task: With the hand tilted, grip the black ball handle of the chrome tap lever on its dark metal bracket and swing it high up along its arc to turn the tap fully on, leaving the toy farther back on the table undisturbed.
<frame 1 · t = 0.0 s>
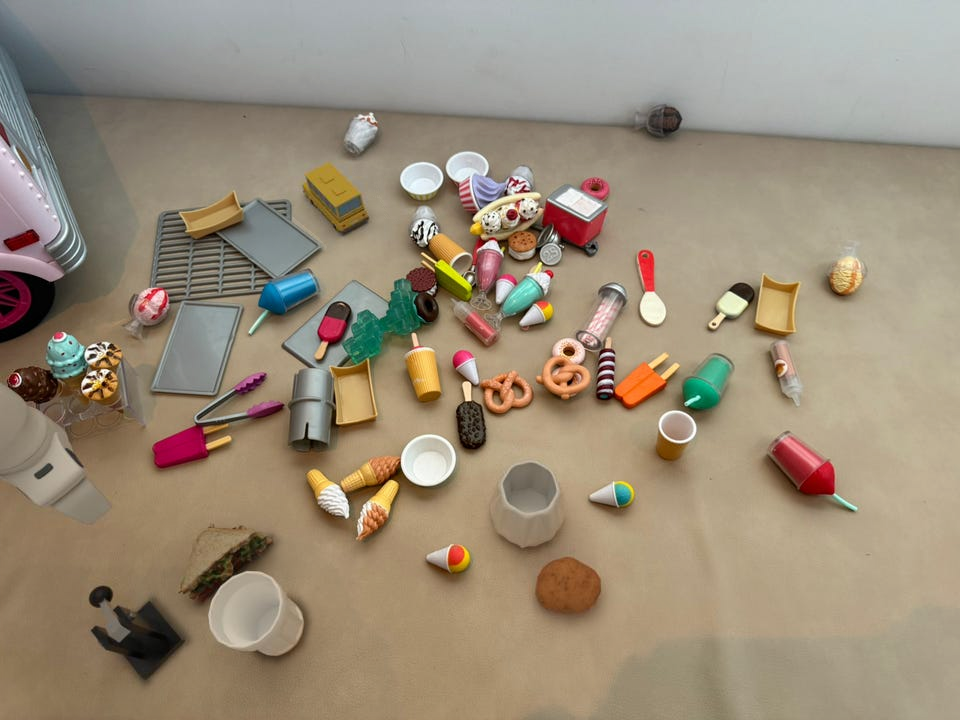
hand: (85, 486, 93), 30 cm above the worktop, tool pointing down, fingers open, 8 cm apart
potato: (566, 589, 113), on the worktop
cup: (279, 628, 111), on the worktop
sandwich: (232, 560, 117), on the worktop
toy: (336, 208, 166), on the worktop
tap lever: (108, 611, 104), point 9 cm above the worktop, hinge at -25.0°
vase: (526, 516, 121), on the worktop
tap bracket: (149, 639, 110), on the worktop
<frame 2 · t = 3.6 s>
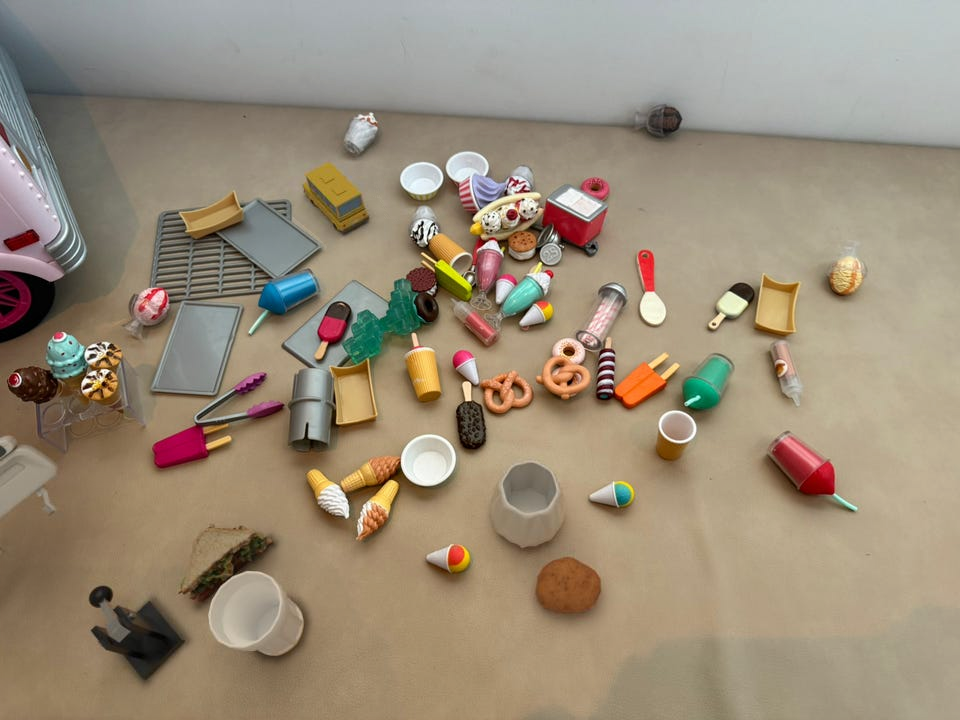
hand: (27, 533, 104), 17 cm above the worktop, tool tilted 45°, fingers open, 8 cm apart
nothing on the worktop moved.
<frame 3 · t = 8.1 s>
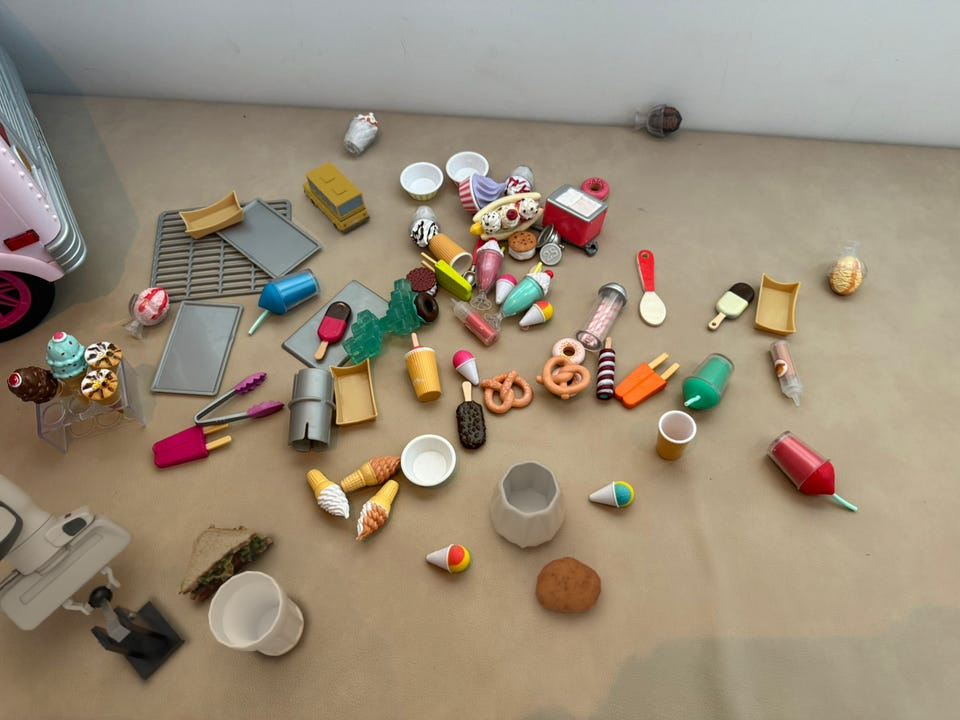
hand: (104, 599, 108), 6 cm above the worktop, tool tilted 45°, fingers closed on tap lever, 3 cm apart
tap lever: (108, 611, 104), point 9 cm above the worktop, hinge at -25.0°, touching gripper
everything else where it was.
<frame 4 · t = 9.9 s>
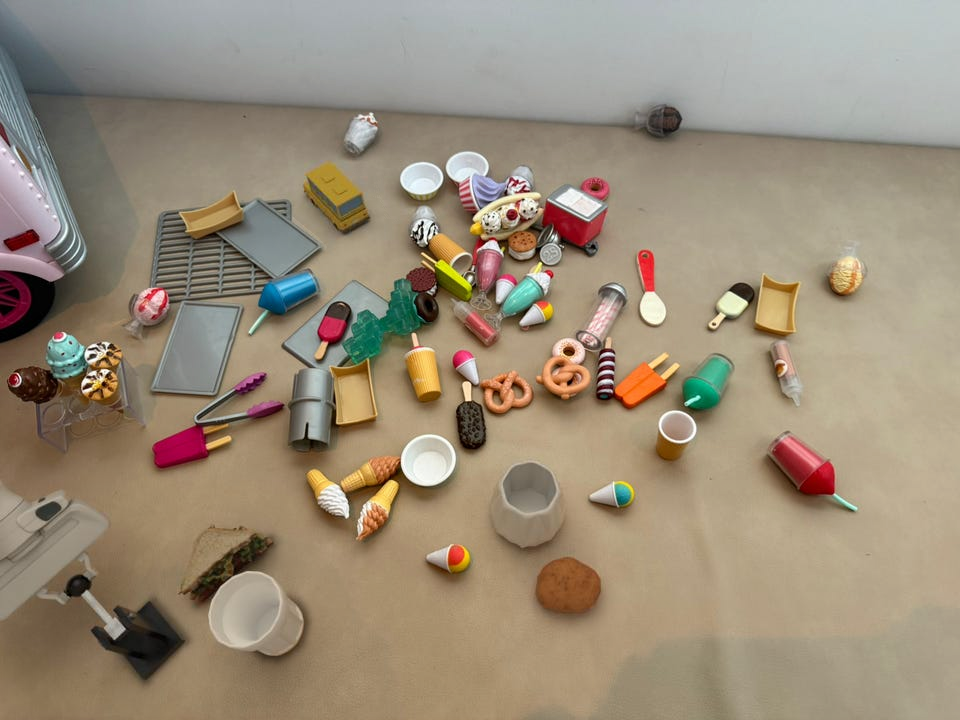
hand: (81, 588, 103), 13 cm above the worktop, tool tilted 45°, fingers closed on tap lever, 3 cm apart
tap lever: (97, 606, 102), point 12 cm above the worktop, hinge at 10.5°, touching gripper
everything else where it was.
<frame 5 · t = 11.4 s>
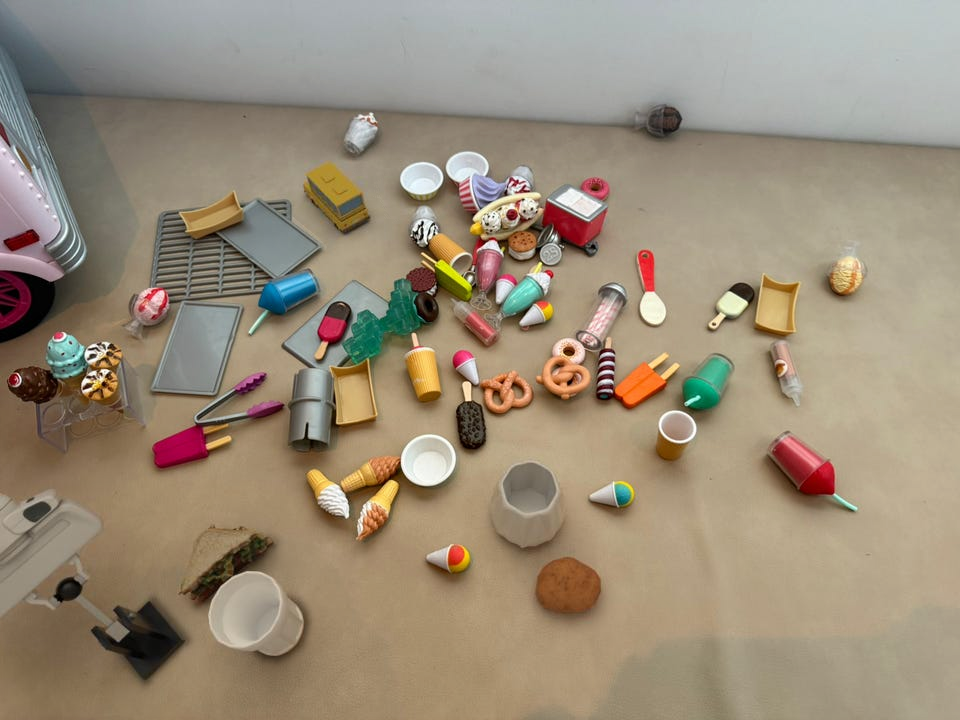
hand: (73, 592, 97), 18 cm above the worktop, tool tilted 45°, fingers closed on tap lever, 3 cm apart
tap lever: (92, 608, 99), point 15 cm above the worktop, hinge at 43.1°, touching gripper
everything else where it was.
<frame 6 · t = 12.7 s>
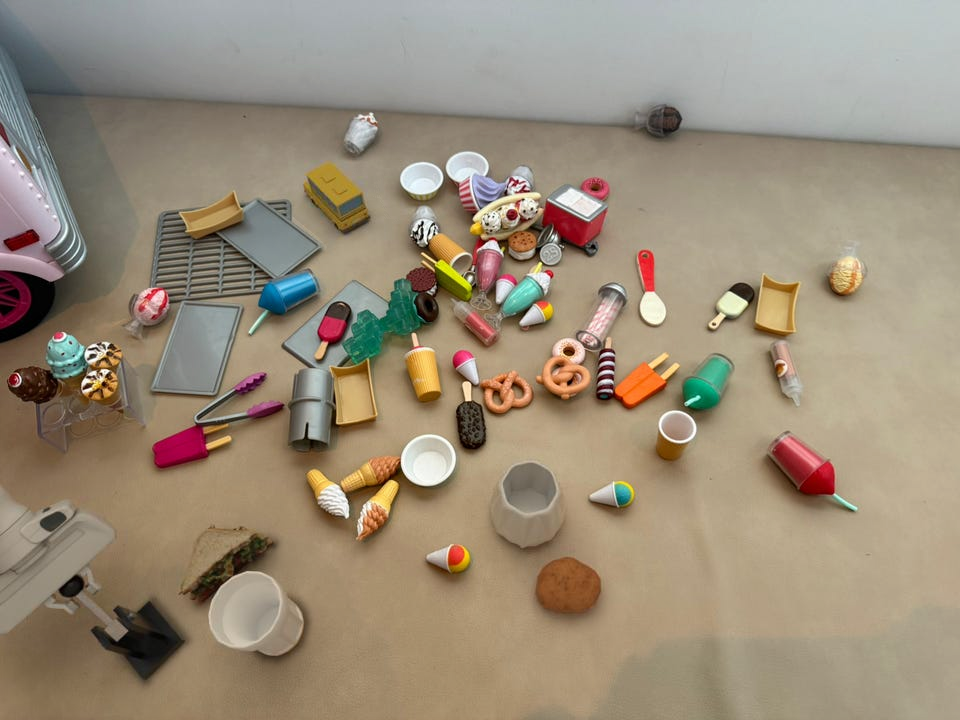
hand: (87, 600, 100), 14 cm above the worktop, tool tilted 45°, fingers closed
tap lever: (93, 606, 100), point 14 cm above the worktop, hinge at 29.4°
everything else where it was.
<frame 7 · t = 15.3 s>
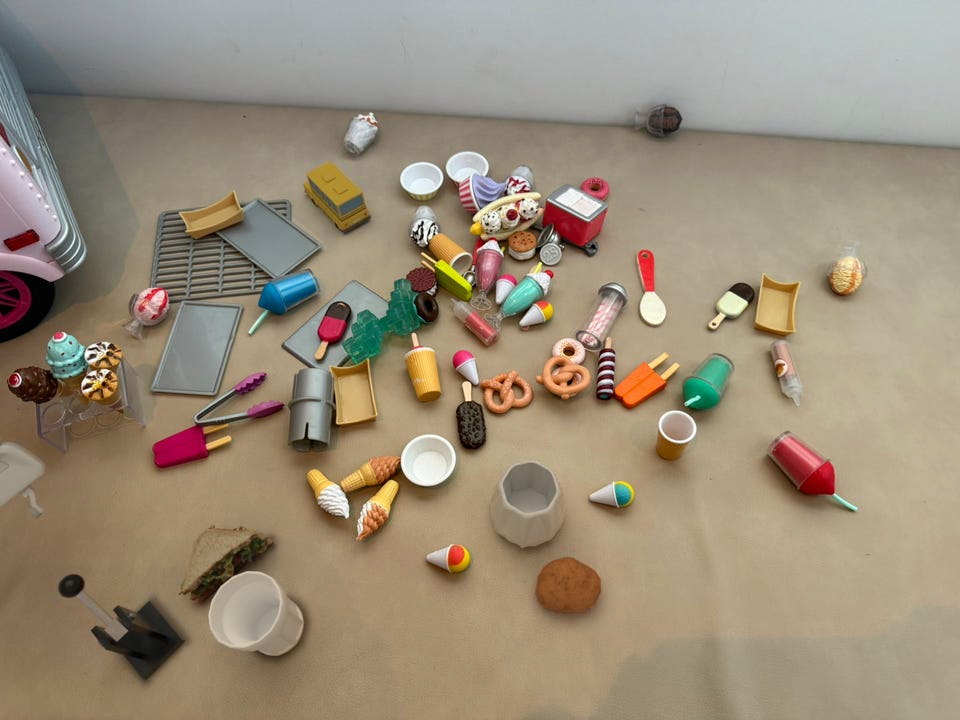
hand: (12, 537, 96), 24 cm above the worktop, tool tilted 45°, fingers open, 8 cm apart
nothing on the worktop moved.
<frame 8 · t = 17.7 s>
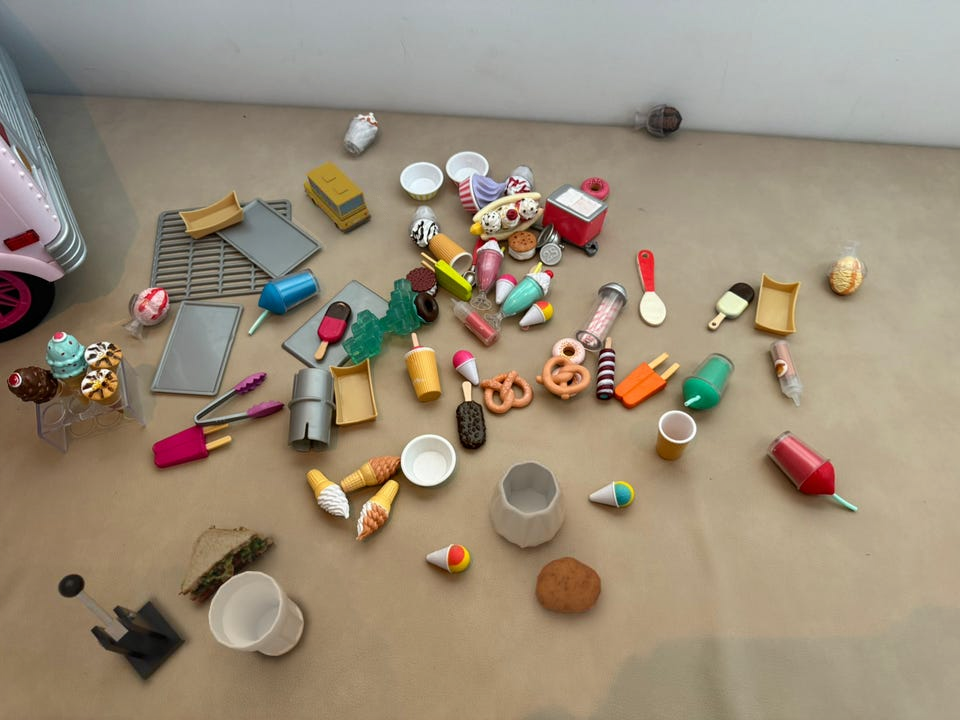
nothing on the worktop moved.
at the end: tap lever at +29° (first picture: -25°); toy moved 0.6 cm from its start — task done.
